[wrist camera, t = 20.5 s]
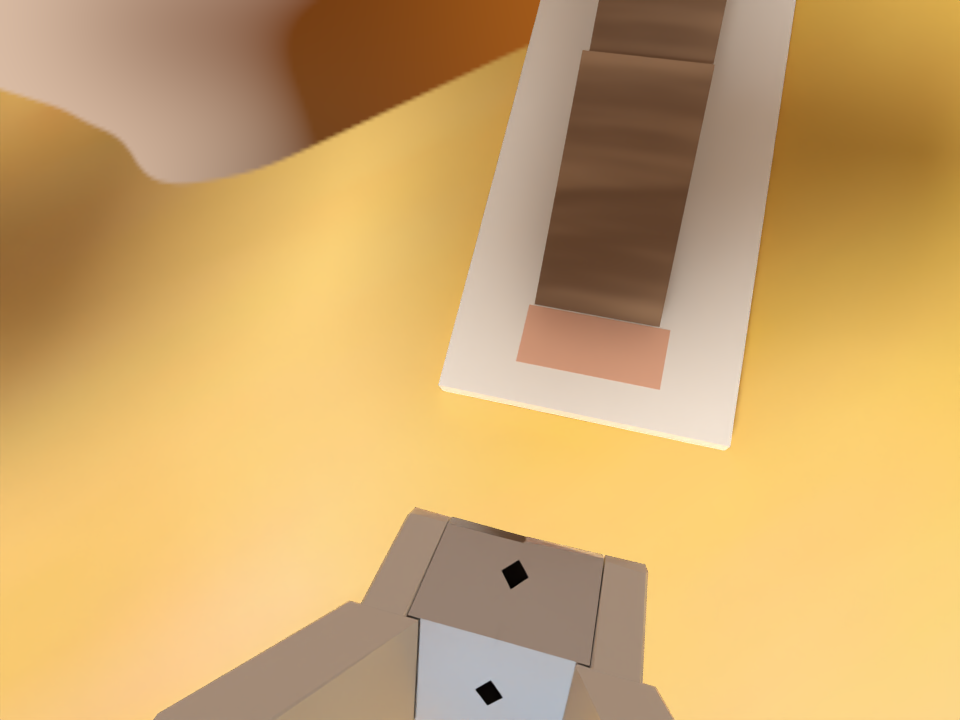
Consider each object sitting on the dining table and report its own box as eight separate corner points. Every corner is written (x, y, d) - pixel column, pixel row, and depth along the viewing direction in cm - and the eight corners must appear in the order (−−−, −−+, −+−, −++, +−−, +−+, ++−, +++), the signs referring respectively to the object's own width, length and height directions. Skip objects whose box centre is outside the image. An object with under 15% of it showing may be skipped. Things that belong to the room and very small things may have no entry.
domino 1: (682, 213, 27) (735, -42, 26) (561, 195, 28) (608, -51, 27) (678, 219, 29) (727, -19, 28) (564, 202, 30) (609, -29, 29)
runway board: (442, 390, 29) (438, 384, 28) (563, -71, 35) (563, -88, 34) (724, 450, 27) (730, 446, 26) (799, -53, 33) (806, -71, 32)
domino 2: (659, 327, 26) (715, 64, 25) (534, 304, 27) (582, 50, 26) (656, 326, 27) (708, 80, 26) (539, 304, 28) (584, 66, 27)
